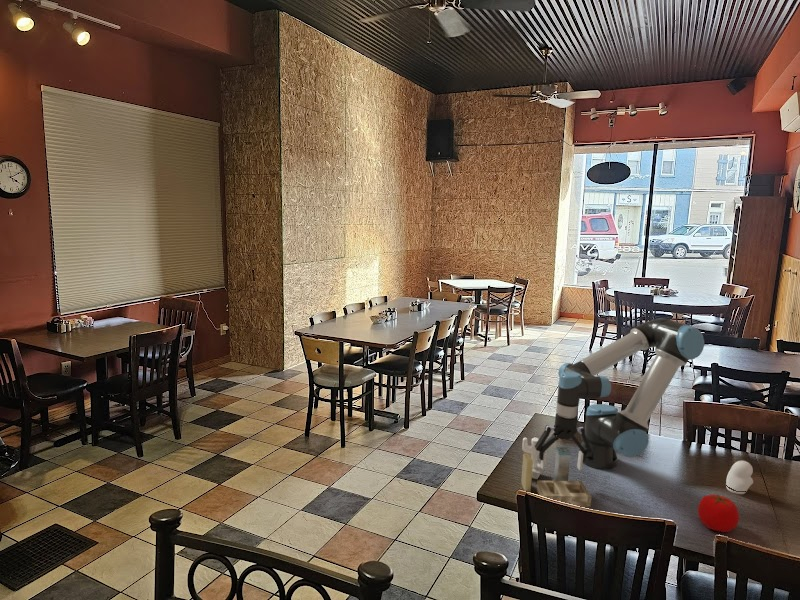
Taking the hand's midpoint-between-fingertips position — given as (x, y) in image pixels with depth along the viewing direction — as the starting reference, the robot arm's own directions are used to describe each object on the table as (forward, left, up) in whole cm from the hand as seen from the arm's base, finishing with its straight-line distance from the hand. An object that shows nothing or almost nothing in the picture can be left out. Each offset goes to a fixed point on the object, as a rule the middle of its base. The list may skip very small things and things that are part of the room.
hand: (560, 468), depth 195 cm
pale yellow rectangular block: (+13, +2, -7) cm, 15 cm away
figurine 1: (+8, -6, -7) cm, 12 cm away
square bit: (0, 0, -7) cm, 7 cm away
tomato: (-44, +24, -7) cm, 51 cm away
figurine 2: (-65, +2, -7) cm, 66 cm away
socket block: (+2, +9, -7) cm, 12 cm away
